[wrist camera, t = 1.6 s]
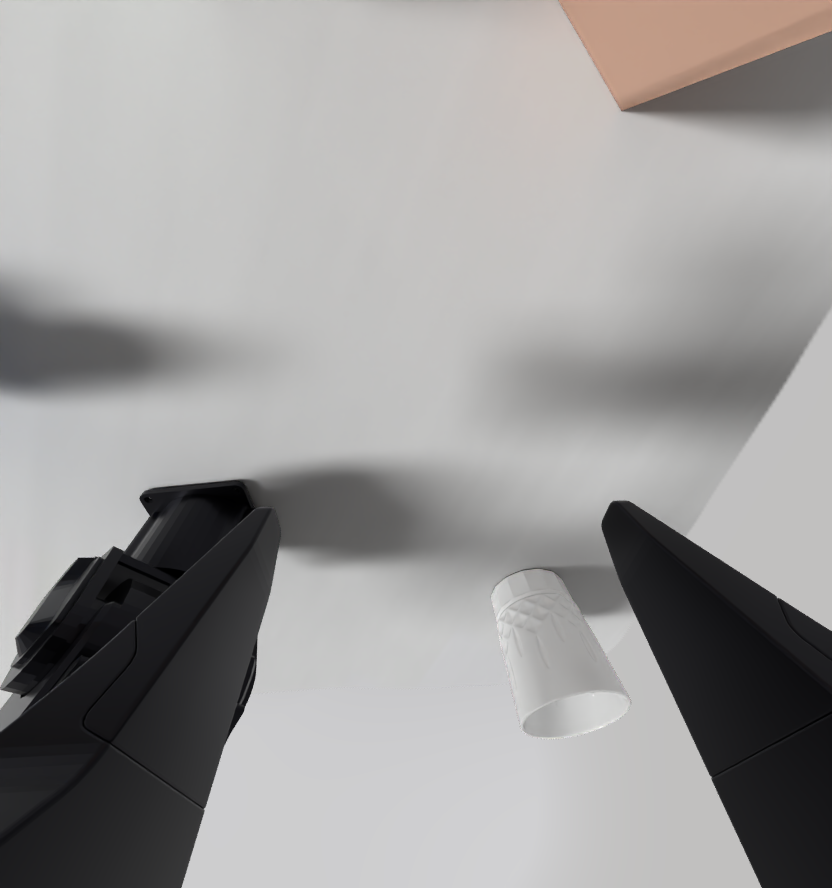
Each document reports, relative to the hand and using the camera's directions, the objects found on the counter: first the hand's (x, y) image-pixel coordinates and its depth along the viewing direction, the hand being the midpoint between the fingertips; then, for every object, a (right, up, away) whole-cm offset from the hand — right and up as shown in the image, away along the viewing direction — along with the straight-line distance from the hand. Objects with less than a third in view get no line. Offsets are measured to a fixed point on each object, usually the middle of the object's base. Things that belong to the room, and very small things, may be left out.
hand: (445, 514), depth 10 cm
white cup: (+9, -12, +24) cm, 28 cm away
